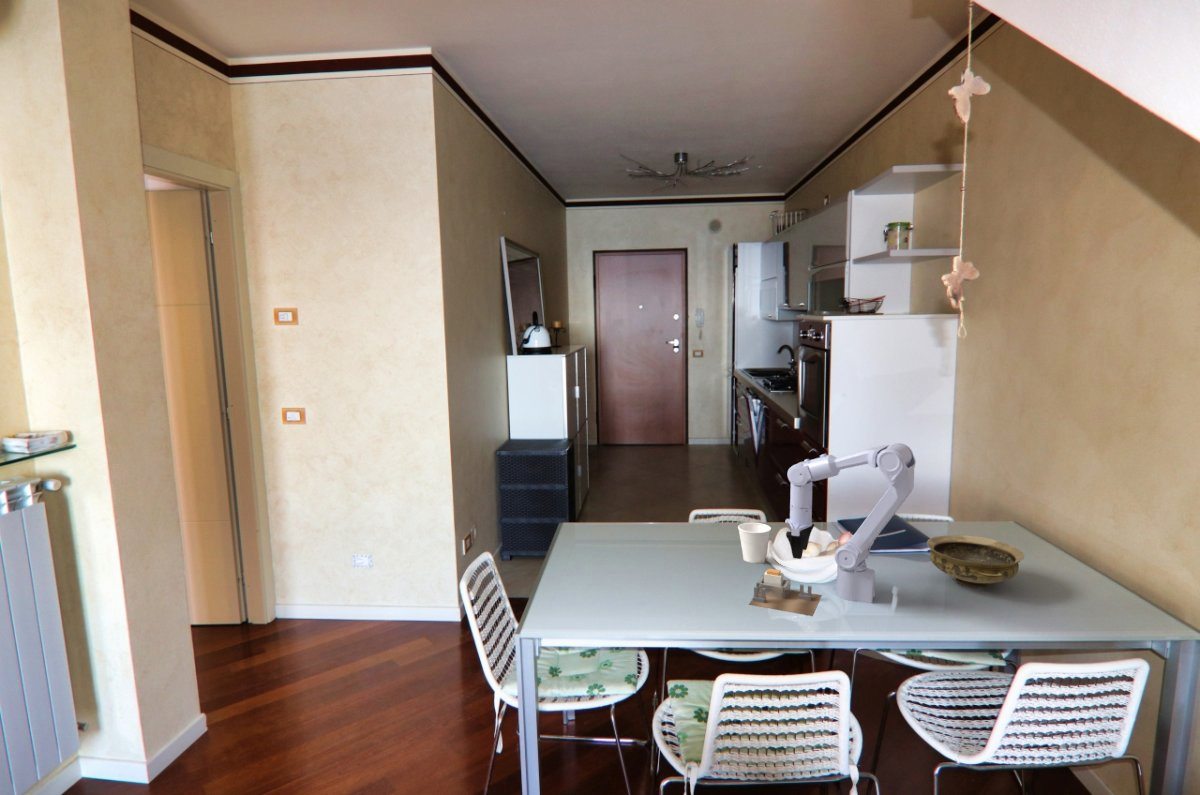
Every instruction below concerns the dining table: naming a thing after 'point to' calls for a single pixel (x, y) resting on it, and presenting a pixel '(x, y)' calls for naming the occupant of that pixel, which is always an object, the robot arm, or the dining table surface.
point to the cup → (754, 541)
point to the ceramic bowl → (974, 559)
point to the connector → (773, 577)
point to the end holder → (774, 588)
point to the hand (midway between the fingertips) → (799, 553)
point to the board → (791, 603)
